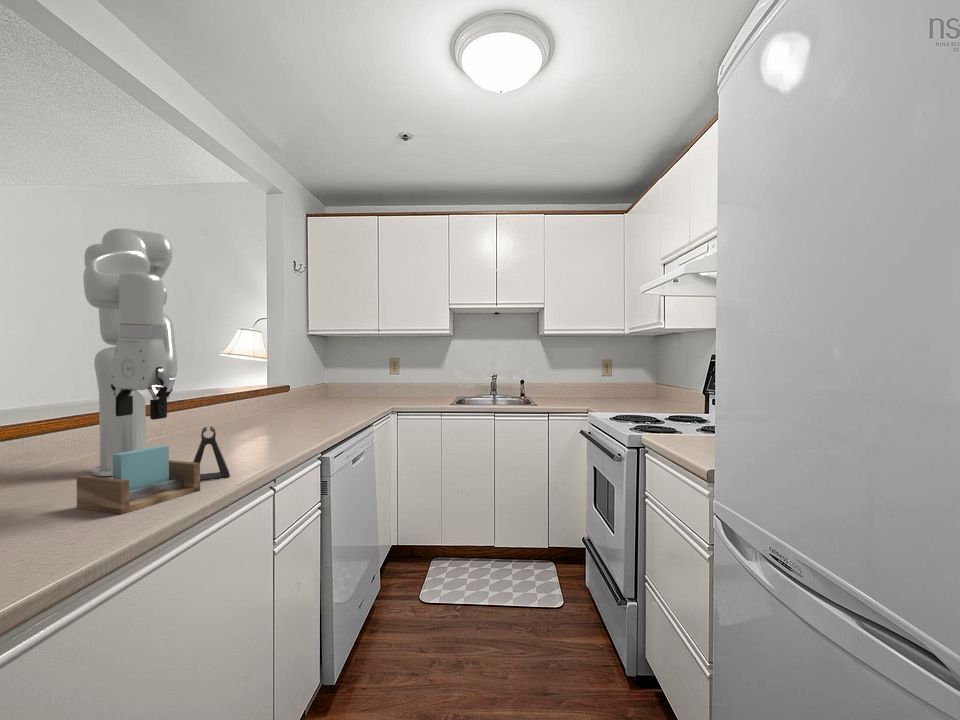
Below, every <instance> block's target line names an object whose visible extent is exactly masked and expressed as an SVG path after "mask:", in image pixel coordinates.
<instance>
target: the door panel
mask: <svg viewBox="0 0 960 720" xmlns="http://www.w3.org/2000/svg"><path fill="white" fill-rule="evenodd" d="M169 447H170V446H169V445H161V444H160V445H157V446H156V445H155V446H152V447H146V448H144V449H139V450H133V451H128V452H122V453H117V454H113V476H112V478H114V479H123V480H129V491H131V490H135V489H139V488H143V487H147V486H150V485H154V484H158V483H162V482H166V481H169V460H170V457H169V456H170V455H169V454H170V449H169Z"/></svg>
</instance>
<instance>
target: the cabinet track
mask: <svg viewBox="0 0 960 720" xmlns="http://www.w3.org/2000/svg"><path fill="white" fill-rule="evenodd" d="M200 474H201V462H200V463H195V462H193V461H182V460H171V459H169V481H166V482H162V483H158V484H154V485H150V486H147V487H143V488H139V489H135V490H131V491H129V480H123V479H114V478H113V477H106V476H95V475H87V474H86V475H84V474H83V475H80V476H76V509H80V508H83V509H82V510H87V509H90V510H89V511H94V510H95V512H101V511H102V513H108V512H109V514H115V513H116V515H124V514H127V513H130V511H131V512H133V511H137V510H141V509H144V508H146V506H147V507H150V505H151V506H154V505H156V504H159V503H160V504H161V503H163V502H167V501H170V500H172V499H173V498H174V499H176V498H180V497H182V496H187V495H190V494H193V493H197V492H200V491H201V481H200ZM153 504H154V505H153ZM143 507H144V508H143ZM140 508H141V509H140ZM136 509H137V510H136Z"/></svg>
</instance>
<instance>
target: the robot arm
mask: <svg viewBox="0 0 960 720" xmlns="http://www.w3.org/2000/svg"><path fill="white" fill-rule="evenodd" d="M83 259H84V267H85V268H84V271H83V288H84V297H85V299H86V301H87V302H88V304H89V305H90V306H91V307H93V308H97V309H98V316H99V317H98V318H99V331H100V336H101V339H102V341H103V342H104V343H105V344H107V345H110V347H106V348H103V349H101V350H99V351H98V352H97V353H96V354H95V357H94V370H95V371H94V372H95V377H96V381H97V388H98V404H99V405H98V407H99V408H98V409H99V411H98V413H99V415H98V416H99V417H98V418H99V466H96V467H94V468H91V475H92V476H97V477H113V454H117V453H122V452H128V451H133V450H139V449H144V448H147V442H146V441H147V438H146V437H147V434H146V433H147V432H146V431H147V429H146V428H147V427H146V425H147V423H146V422H147V421H146V420H147V419H146V418H147V416H146V415H147V413H146V405H147V404H146V401H145V398H144V397H143V395H142V393H140V392H139V391H145V390H147V391H148V392H149V394H150V396H151V398H152V399H150V401H149V404H150V406H149V407H150V409H149V410H150V411H149V414H150V415H149V418H150V420H152V421H153V420H154V421H155V420H160V419H161V420H163V419H166V418H167V417H168V400H169V398H170V395H171V393H172V392H173V387H174V385H175V382H176V377H177V374H178V357H177V349H176V342H175V341H176V340H175V339H176V338H175V330H174V324H173V322H172V319H171V318H170V316H169V315H168V314H166V313H164V311H163V310H164V305H166V303H167V298H168V292H167V291H168V290H167V286H166V285H164V283H163V280H162V278H163V277H164V276H165V274H166V273H167V271H168V269H169V267H170V265H171V263H172V260H173V247H172V244H171V242H170V240H169V238H168V237H167V236H165V235H164V234H161V233H158V232H151V231H150V232H149V231H144V230H136V229H129V228H113V229H110V230H108V231H107V232H105V233H104V235H103V236H102V239H101V243H96V244H90V245H89V246H88V247H87V248H86V250H85V252H84V258H83Z"/></svg>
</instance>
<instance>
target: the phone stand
mask: <svg viewBox="0 0 960 720" xmlns="http://www.w3.org/2000/svg"><path fill="white" fill-rule="evenodd" d="M209 429H210V430H209V431H210V432H212V433H213V434H212V435H211V436H209V437H208V436H207V437H206V436H205V434H204V433H205V432H207V430H208V428H207V426H204V427H203V428H202V430H201V435H200V436H201V441H200V443H199V445H198V448H197V450H196V452H195V455H194V458H193V461H192V462H195V463H200V464H201V462H202V458H203V455H204V452H205V448H206V446H208V445H211V448H212V450H213V454H214V457H215V460H216V464H217V466H218V470H219V471H218V472H209V473H200V482H203V481H202V480H205V481H211V480H210V479H215V480H220V479H219V478H224V479H229V478H231V475H230V470H229V467H228V465H227V463H226V460H225V458H224V456H223V453H222V451H221V448H220V447H219V444H218V442H217V439H216V436H217V435H216V434H217V433H216V429H215V428H214V426H210V427H209ZM228 477H229V478H228Z"/></svg>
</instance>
